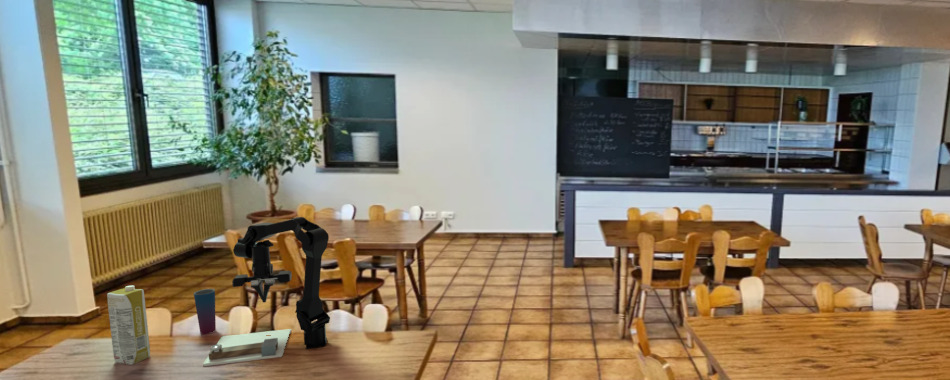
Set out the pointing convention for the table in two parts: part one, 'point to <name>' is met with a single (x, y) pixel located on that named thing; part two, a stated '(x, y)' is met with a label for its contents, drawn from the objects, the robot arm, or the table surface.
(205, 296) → the cup
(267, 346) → the keeper
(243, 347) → the link
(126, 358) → the juice carton
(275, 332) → the base plate
